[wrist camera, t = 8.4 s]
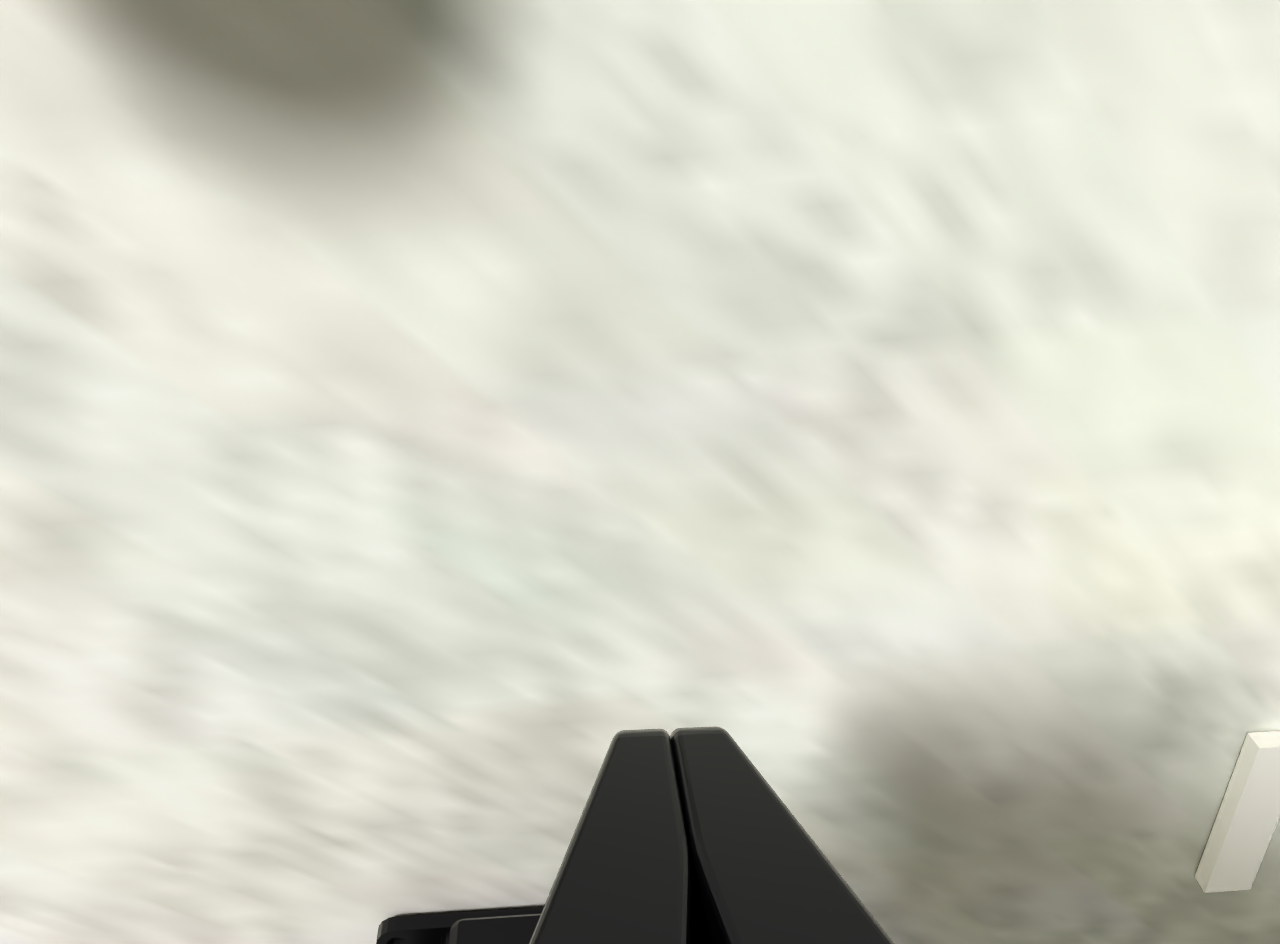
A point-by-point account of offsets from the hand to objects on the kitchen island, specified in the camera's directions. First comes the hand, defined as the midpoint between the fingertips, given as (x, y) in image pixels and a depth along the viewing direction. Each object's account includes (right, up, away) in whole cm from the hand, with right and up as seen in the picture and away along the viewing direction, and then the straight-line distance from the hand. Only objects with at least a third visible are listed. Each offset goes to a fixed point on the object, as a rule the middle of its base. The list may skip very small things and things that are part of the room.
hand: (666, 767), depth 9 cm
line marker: (+15, -6, +19) cm, 25 cm away
